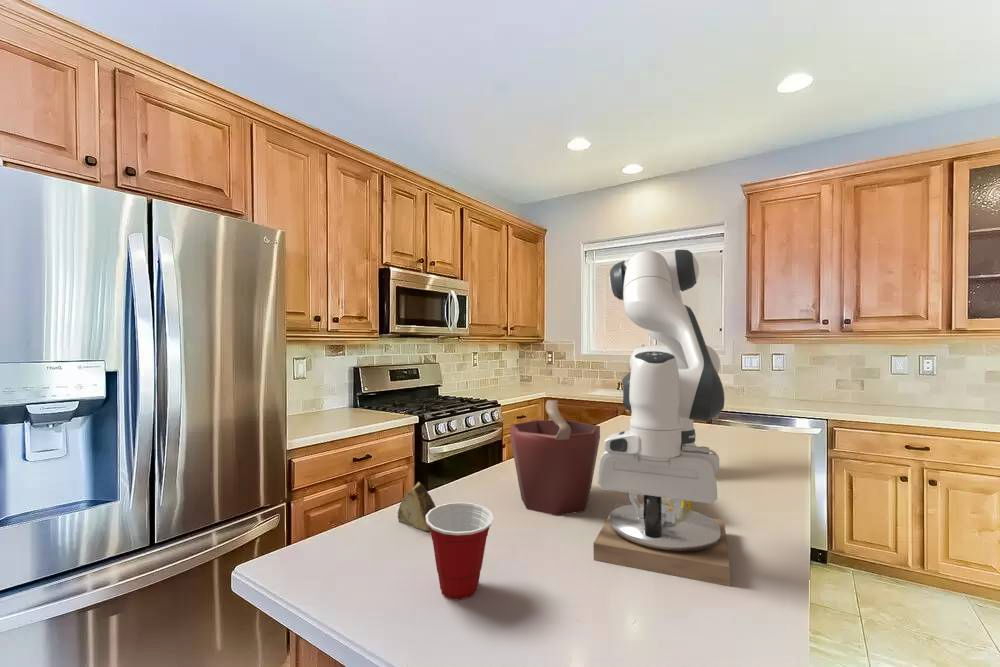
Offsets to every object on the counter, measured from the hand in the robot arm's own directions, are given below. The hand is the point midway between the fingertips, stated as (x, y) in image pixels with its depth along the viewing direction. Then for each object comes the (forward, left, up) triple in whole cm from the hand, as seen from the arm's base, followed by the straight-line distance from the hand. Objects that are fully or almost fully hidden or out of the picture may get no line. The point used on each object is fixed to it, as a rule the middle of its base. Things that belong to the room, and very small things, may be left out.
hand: (655, 520), depth 81 cm
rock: (+3, -48, -8) cm, 49 cm away
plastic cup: (+23, -27, -8) cm, 36 cm away
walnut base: (-7, +1, -8) cm, 10 cm away
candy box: (-29, +3, -8) cm, 31 cm away
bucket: (-22, -26, -8) cm, 35 cm away
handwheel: (-7, +1, -5) cm, 9 cm away
